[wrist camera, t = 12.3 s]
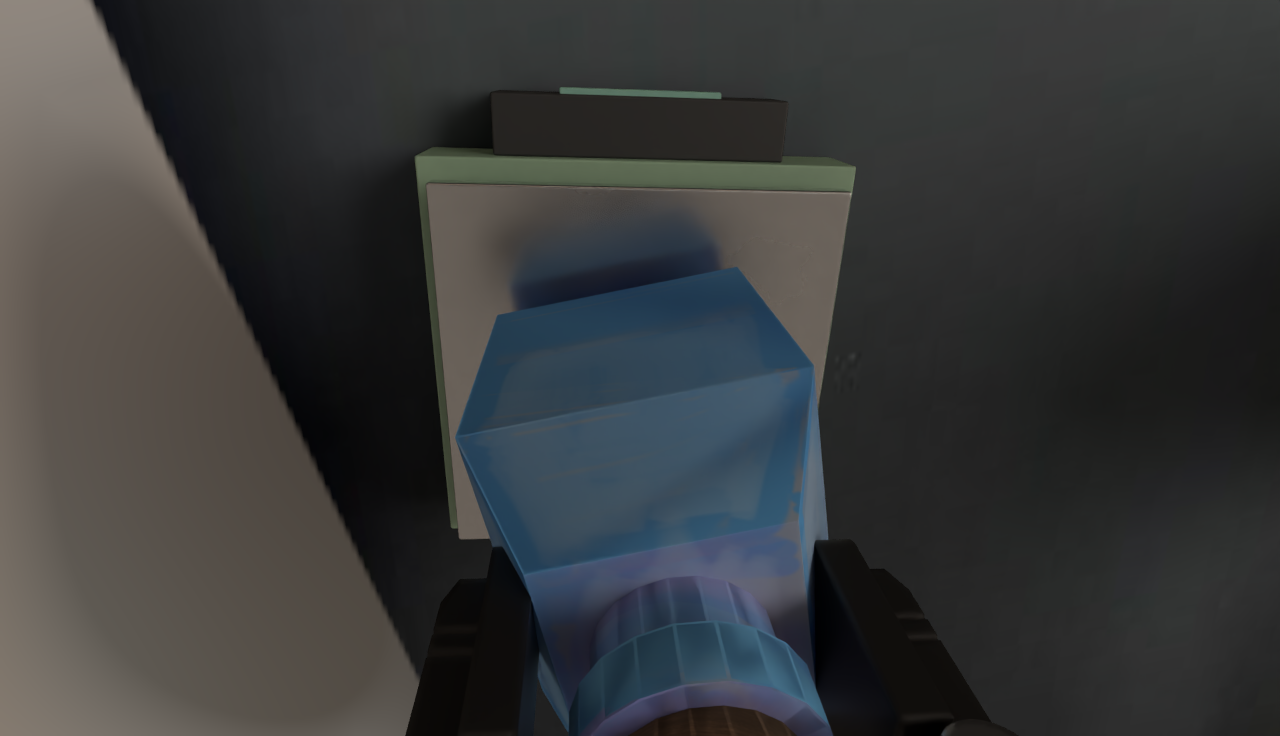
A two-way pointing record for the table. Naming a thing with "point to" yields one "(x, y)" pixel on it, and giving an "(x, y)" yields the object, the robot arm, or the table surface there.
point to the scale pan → (618, 262)
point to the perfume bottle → (658, 505)
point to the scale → (620, 158)
